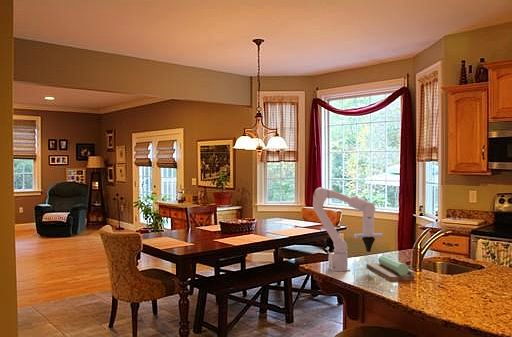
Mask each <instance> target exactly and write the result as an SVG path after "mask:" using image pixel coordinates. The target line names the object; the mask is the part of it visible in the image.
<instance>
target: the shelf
mask: <svg viewBox="0 0 512 337" xmlns="http://www.w3.org/2000/svg"><path fill="white" fill-rule="evenodd" d="M366 268H367V269H368V270H370V271H371V272H373V273H375V274H377V275H379V276H381V277H382V278H384V279H385V280H388V281H389V282H398V281H399V282H400V281H401V282H403V281H404V282H405V281H406V282H407V281H415V271H414V270H412V269H410V268H409V272H408V273H407V274H406V275H403V276H401V275H399V274H398V273H397V272H395V271H393V270H391V269H389V268H387V267H385V266H383V265H381V264H380V263H379V262H377V263H376V262H375V263H366Z"/></svg>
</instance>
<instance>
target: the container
mask: <svg viewBox="0 0 512 337" xmlns="http://www.w3.org/2000/svg"><path fill="white" fill-rule="evenodd" d="M377 259H378V262H377V263H380V264H381V265H383V266H385V267H387V268H389V269H391V270H393V271H395V272H397V273H398V274H399V275H401V276H403V275H406V274H407V273H408V272H409V269H410V268H409V266H408V264H406V263H402V262H400V261H397V260H395V259H393V258H390V257H388V256H386V255H380V256H379V257H378V258H377Z"/></svg>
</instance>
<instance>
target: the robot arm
mask: <svg viewBox="0 0 512 337" xmlns="http://www.w3.org/2000/svg"><path fill="white" fill-rule="evenodd" d="M327 199H336V200H339V201H342V202H344V203H347V205H348V206H349V207H350V208H353V209H355V210H359V212H360V211H362V233H361V232H360V233H354V236H353V237H354V238H355V239H360V238H361V239H362V241H363V244H364V246H365V251H366V252H367V253H371V251H372V247H373V244H374V242H375V240H376V238H383V233H381V232H380V233H379V232H375V212H376V207H375V206H376V205H375V204H374V203H372V202H370V201H368V200H367V199H362V198H360V197H359V196H358V195H352V196H347V195H345V194H343V193H340V192H338V191H335V190H333V189H329V188H324V187H321V186H319V187H317V188H316V189H315V191H314V192H313V194H312V209H313V211H314V212H315V214H316V216H317V217H318V219H319V221H320V222H321V224H322V226H323V228H324V229H325V231H326V233H327V234H328V235H329V237H330V239H331V240H332V242H333V248H334V249H333V251H332V252H329V253H328V267H327V268H328V269H329V270H330V271H332V272H349V271H351V269H350V268H349V266H348V265H349V264H348V253H349V252H348V251H347V250H348V249H349V246H348V243H347V242H346V240H344V238H342V236H341V235H340V234H339V232H338V230H337V229H336V228H335V226H334V224H333V223H332V221H331V220H330V217H329V216H328V214H327V213H326V210H324V208H323V207H324V204H325V202H326V200H327Z"/></svg>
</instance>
